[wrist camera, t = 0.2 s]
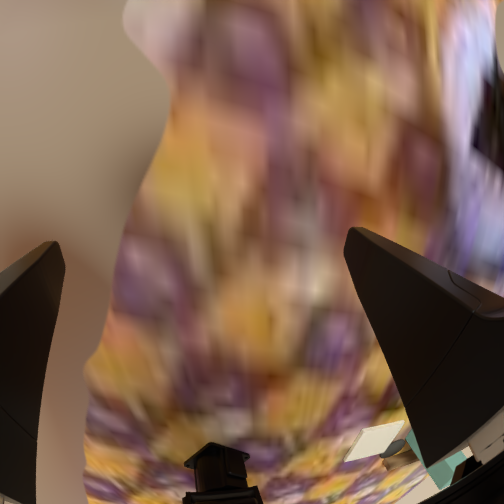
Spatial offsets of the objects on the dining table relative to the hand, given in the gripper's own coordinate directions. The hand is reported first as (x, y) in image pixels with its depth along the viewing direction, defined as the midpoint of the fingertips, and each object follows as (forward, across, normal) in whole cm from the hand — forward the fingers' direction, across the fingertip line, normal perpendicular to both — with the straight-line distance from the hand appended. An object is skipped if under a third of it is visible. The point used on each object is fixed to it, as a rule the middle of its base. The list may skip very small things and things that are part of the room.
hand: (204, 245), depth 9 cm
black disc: (+4, -30, +46) cm, 55 cm away
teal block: (+5, -35, +43) cm, 55 cm away
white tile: (+5, -24, +41) cm, 48 cm away
